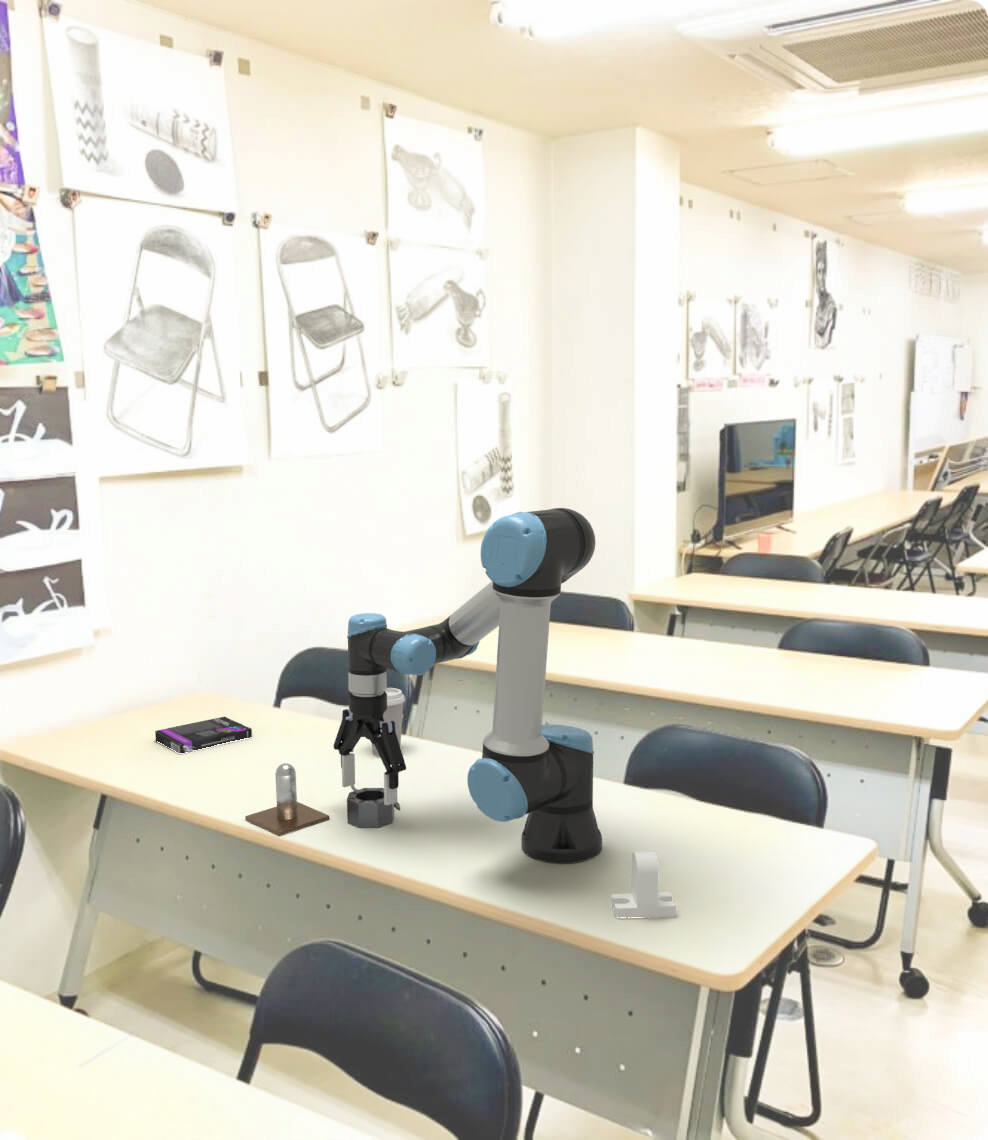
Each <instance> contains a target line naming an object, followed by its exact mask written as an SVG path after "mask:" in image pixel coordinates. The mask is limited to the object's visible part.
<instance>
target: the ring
mask: <svg viewBox="0 0 988 1140" xmlns="http://www.w3.org/2000/svg"><path fill="white" fill-rule="evenodd" d="M346 815H347V817H346V819H347V824H349V825H352V826H353V827H356V828H359V829H378V828H381V827H382V828H383V827H384V826H387V825H389V824H393V823H394V819H395V807H394V803H393V804H390V805H384V787H363V788H362V787H361V788H360V789H358V790H356V791H354V790H352V791H350V792H349V793H348V795H347V798H346Z"/></svg>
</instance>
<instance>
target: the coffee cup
mask: <svg viewBox="0 0 988 1140" xmlns="http://www.w3.org/2000/svg"><path fill="white" fill-rule="evenodd" d="M385 692H386V693H387V710H386V711H385V712H384V714H383V718H384V721H385V722H390V721H394V722H395V730H396V735H397V738H398V742H399V745H400V747H401V744H402V743H401V742H402V741H401V740H402V727H403V714H404V713H403V711H404V703H405V702H406V698H405V697H406V696H405V695H404V694H403V691H402V690H401V689H399V688H394V687H387V689H386V690H385ZM380 736H381V735H379V736H378V737H380ZM371 749H372V754H373V756H374V757H379V758H380V756H379V753H378V751H377V749H376V747H375V745H374V744H372V743H371Z"/></svg>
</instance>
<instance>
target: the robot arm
mask: <svg viewBox="0 0 988 1140" xmlns="http://www.w3.org/2000/svg"><path fill="white" fill-rule="evenodd" d="M595 549H596V535H595V531H594V529H593V527H592V524H591V523H590V521H589V520H588V519H587V518H586V517H585V516H584V515H583V514H581V513H580V512H578V511H576V510H573V509H571V508H565V507H556V508H554V507H553V508H551V509H550V508H549V509H543V510H542V509H540V510H531V511H518V512H514V513H511V514H509V515H505V516H502V517H500V518H498V519H496V520H495V521H494V522H493V523H492V524H491V525H490V526H489V527H488V528H487V530H486V531H485V533H484V535H483V538H482V540H481V546H480V562H481V566H482V568H483V569H485V575H486V576H487V578H488V579H489V580H490V582H489V583H488V584H486V585H485V586H484V587H482V589H480V590H479V591H478V592H476V593H475V594H474V595H473V596H472V597H471V598H470V599H468V600H467V601H466V602H465V603H463V604H462V605H461V606H460V607H459V608H457V609H456V610H454V612H452V614H450V615H449V616H448V617H447V618H445V619H444V620H443V621H441V622H440V623H437V624H432V625H428V626H424V627H419V628H415V629H410V630H405V631H400V630H393V629H390V628H388V624H387V618H386V617H385V616H384V615H383V614H380V613H374V612H369V613H368V612H367V613H365V612H364V613H359V614H354V615H352V616H350V618H349V619H348V622H347V624H348V625H347V636H346V638H347V655H348V656H347V657H348V660H347V661H348V672H347V673H348V676H347V677H348V683H347V684H348V685H347V686H348V689H347V690H348V691H349V694H348V708H345V709H343V710H342V715H341V718H342V719H341V722H340V725H339V728H338V731H337V734H336V736H335V740H334V744H333V749H334V750H337V751H338V754H339V755H340V767H341V780H342V781H341V782H342V783H341V788H342V787H343V788H347V787H351V785H354V786H355V785H356V765H355V764H356V762H355V761H356V757H355V756H356V755H355V753H353V752H354V751H355V750H354V749H355V747H356V745H357V744H358V743H359V741H360V739H361V738H365V739H366V740H369V741H370V743H371V745H372V744H374V745H375V747H376V749H377V751H378V753H379V756H380V757H379V758H380V760H381V762H382V764H383V767H384V768H385V770H386V771H385V772H383V788H384V805H390V804H393V803H396V802H398V788H399V773H400V772H402V771H403V772H404V771H405V770H407V765H406V762H405V758H404V755H403V752H402V749H401V746H400V745H399V742H398V738H397V735H396V730H395V722H394V721H390V722H385V721H384V718H383V714H384V712H385V711H386V710H387V693H386V692H385V690H386V689H387V688H388V684H387V683H388V681H387V670H391V671H395V672H399V673H401V674H405V675H409V676H410V675H412V676H423V675H425V674H427V673H428V671H429V670H430V669H432V668H433V666H434V665H436V664H440V663H444V662H448V661H453V660H459V659H463V658H465V657H467V656H470V655H471V654H473V653H474V652H476V651H477V649H478V646H479V644H480V641H481V640H482V639H484V638H485V637H486V636H487V635H489V634H490V633H492V632H493V631H494V630H495V629H497V628H498V638H497V651H496V652H497V653H496V666H495V667H496V670H495V671H496V672H495V683H494V684H495V686H494V699H493V716H492V717H493V718H492V729H491V731H490V732H488V733H487V734H486V735H485V736H484V738H483V740H482V752H481V753H482V754H481V755H482V756H481V758H478V759H476V761H474V763H473V764H472V765H471V766H470V767H469V769H468V772H467V780H466V781H467V787H468V793H469V795H470V798H471V799H472V802H474V803H475V805H476V806H477V808H478V810H479V811H480V812H481V813H482V814H483V815H484V816H486V817H487V818H489V819H490V820H493V821H496V822H501V823H505V822H510V821H512V820H517V819H521V818H523V817H524V816H526V815H527V817H526V820H525V824H524V828H523V830H522V832H521V839H520V840H521V843H520V844H521V850H522V851H523V853H524V854H525V855H526V856H527V857H528V856H529V857H530V858H533V859H535V860H538V861H541V862H547V863H555V864H556V863H557V864H571V863H580V862H584V861H588V860H590V859H593V858H595V857H596V856H598V855H600V853H601V852H602V850H603V836H602V832H601V830H600V829H599V825H598V821H597V817H596V814H595V811H594V754H595V750H594V745H593V743H594V742H593V740H594V739H593V737H592V735H591V734H590V733H589V732H588V731H586V729H582V728H579V727H575V726H572V725H571V726H570V725H563V724H543V718H544V717H543V715H544V702H545V701H544V700H545V690H546V689H545V688H546V687H545V686H546V676H547V675H546V674H547V660H548V647H549V646H548V645H549V635H550V633H549V632H550V617H551V604H552V602H553V601H554V600H556V599H557V598H558V597H559V596H560V595H561V591H562V584H564V583H566V582H567V581H568V580H569V579H571V578H572V577H574V576H575V575H576V574H578V573H579V572H580V571H581V570H583V569H584V568H585V567H586V566H587V565H588V564H589V563H590V561H591V559H592V558H593V556H594V554H595ZM379 735H381V736H380V737H378V736H379Z"/></svg>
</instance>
